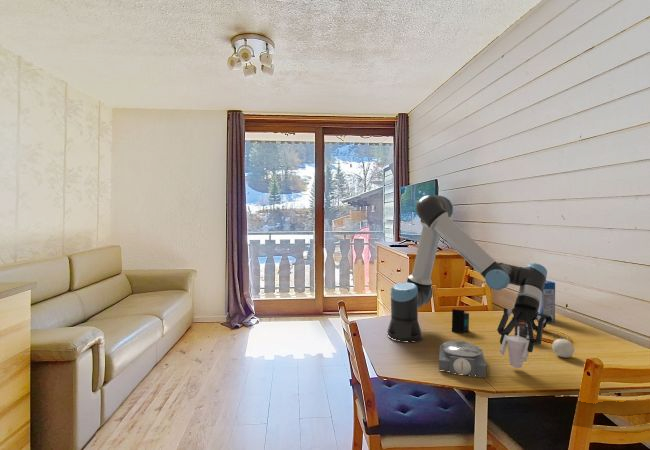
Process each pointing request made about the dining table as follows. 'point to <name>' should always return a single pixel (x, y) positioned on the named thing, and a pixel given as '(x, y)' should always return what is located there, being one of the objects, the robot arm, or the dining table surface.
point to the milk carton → (548, 300)
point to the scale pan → (461, 349)
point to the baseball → (563, 348)
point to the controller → (548, 318)
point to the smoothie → (516, 349)
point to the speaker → (460, 321)
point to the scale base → (462, 364)
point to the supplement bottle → (522, 330)
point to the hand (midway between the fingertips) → (512, 356)
